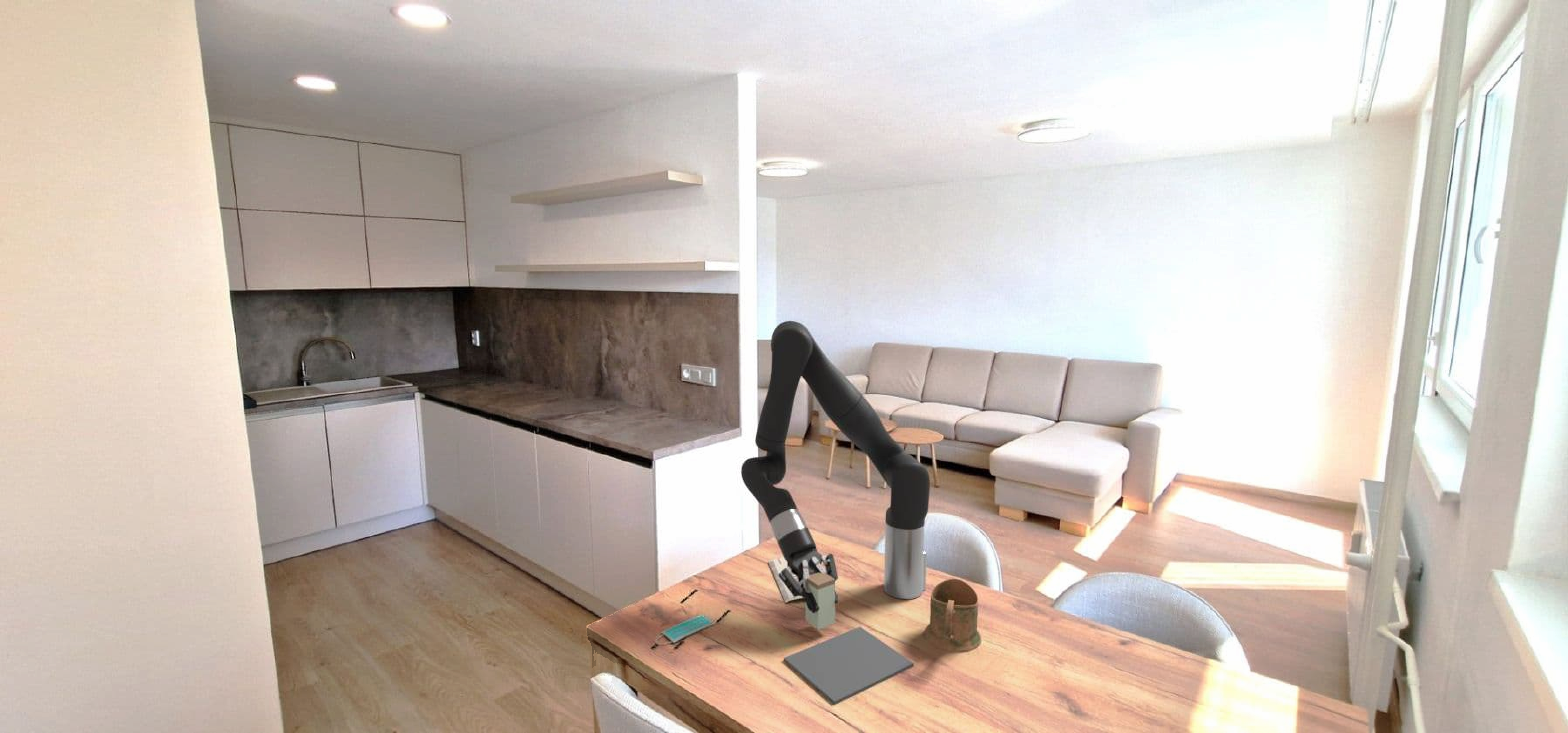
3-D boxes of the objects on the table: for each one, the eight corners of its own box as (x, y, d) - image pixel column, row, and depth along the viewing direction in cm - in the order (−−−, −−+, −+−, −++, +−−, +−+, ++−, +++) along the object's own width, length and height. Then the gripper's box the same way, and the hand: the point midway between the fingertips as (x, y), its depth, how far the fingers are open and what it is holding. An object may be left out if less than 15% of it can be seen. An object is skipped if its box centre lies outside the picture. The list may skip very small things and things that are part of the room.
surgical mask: (696, 587, 151) (733, 595, 147) (696, 604, 152) (734, 613, 147) (642, 631, 132) (684, 642, 128) (643, 651, 133) (684, 662, 129)
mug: (916, 662, 128) (918, 605, 126) (928, 617, 145) (930, 567, 143) (977, 674, 124) (980, 616, 122) (982, 627, 141) (985, 575, 139)
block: (822, 613, 142) (821, 571, 140) (835, 623, 138) (834, 579, 136) (805, 620, 139) (805, 576, 138) (818, 629, 135) (817, 585, 134)
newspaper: (836, 600, 153) (835, 590, 153) (786, 611, 151) (785, 601, 151) (812, 558, 175) (811, 550, 175) (768, 567, 173) (767, 558, 173)
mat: (859, 629, 140) (859, 626, 140) (913, 666, 127) (914, 663, 127) (783, 660, 129) (783, 658, 129) (834, 704, 116) (834, 701, 116)
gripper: (771, 535, 138) (806, 612, 130) (824, 519, 146) (860, 591, 138) (759, 549, 143) (791, 624, 135) (811, 534, 151) (844, 604, 143)
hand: (825, 607), depth 136 cm, fingers closed on block, 4 cm apart
